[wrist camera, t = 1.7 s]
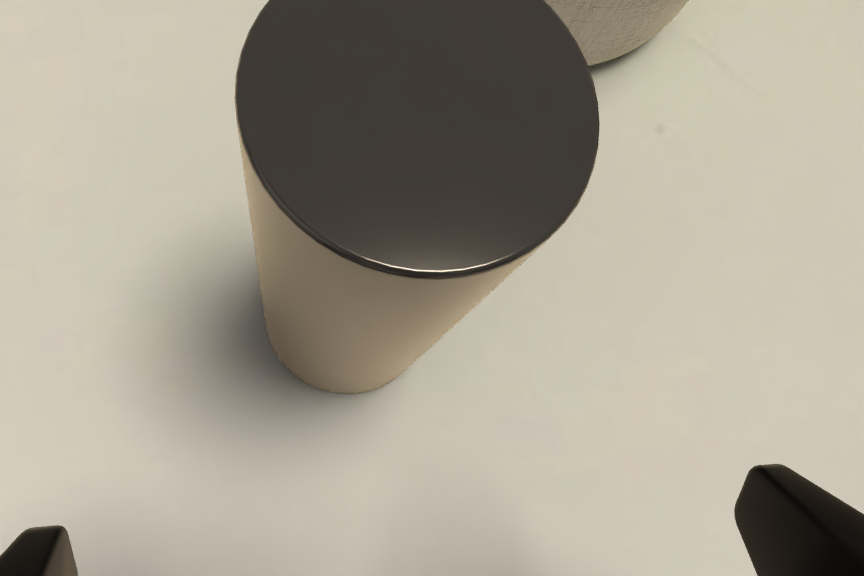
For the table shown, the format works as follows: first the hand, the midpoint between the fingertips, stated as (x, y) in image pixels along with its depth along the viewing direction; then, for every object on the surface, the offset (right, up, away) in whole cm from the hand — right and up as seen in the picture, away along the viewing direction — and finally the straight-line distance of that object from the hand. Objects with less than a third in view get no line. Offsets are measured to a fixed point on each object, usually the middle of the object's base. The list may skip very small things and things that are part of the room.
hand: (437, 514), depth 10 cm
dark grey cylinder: (-3, +2, +12) cm, 13 cm away
